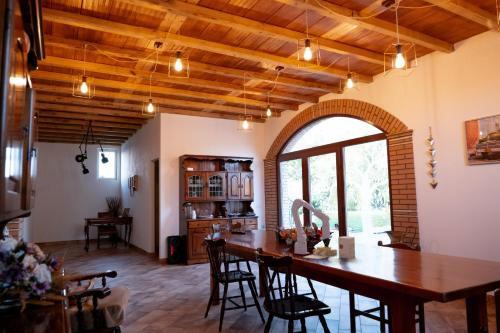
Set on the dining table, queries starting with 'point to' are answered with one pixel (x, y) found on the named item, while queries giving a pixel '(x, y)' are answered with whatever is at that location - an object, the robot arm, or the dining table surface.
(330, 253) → the deck
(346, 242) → the supplement box
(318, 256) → the mat
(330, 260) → the dining table surface
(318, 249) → the card
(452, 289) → the dining table surface
